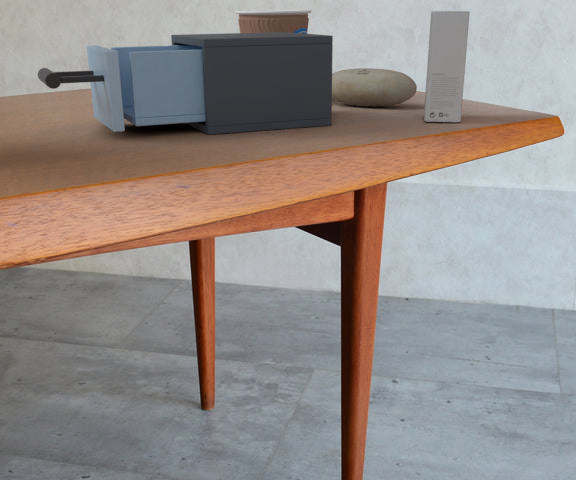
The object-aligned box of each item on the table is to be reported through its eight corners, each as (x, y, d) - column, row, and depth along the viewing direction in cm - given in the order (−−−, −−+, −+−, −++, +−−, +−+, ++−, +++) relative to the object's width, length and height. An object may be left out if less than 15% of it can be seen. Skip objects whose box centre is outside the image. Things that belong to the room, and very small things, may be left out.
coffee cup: (288, 107, 97) (287, 10, 93) (224, 102, 102) (220, 10, 98) (323, 98, 106) (324, 9, 101) (262, 95, 111) (261, 9, 106)
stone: (415, 89, 92) (325, 60, 93) (401, 132, 96) (315, 103, 98) (424, 70, 96) (338, 42, 97) (410, 112, 100) (328, 84, 102)
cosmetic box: (461, 123, 84) (470, 10, 79) (423, 122, 84) (430, 11, 80) (459, 115, 89) (467, 10, 85) (423, 115, 90) (429, 10, 86)
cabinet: (208, 134, 78) (203, 39, 74) (176, 119, 88) (171, 34, 85) (331, 125, 83) (332, 35, 80) (287, 111, 94) (286, 32, 90)
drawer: (54, 136, 72) (44, 53, 69) (41, 120, 82) (32, 47, 79) (238, 123, 79) (236, 47, 76) (206, 110, 89) (203, 42, 86)
